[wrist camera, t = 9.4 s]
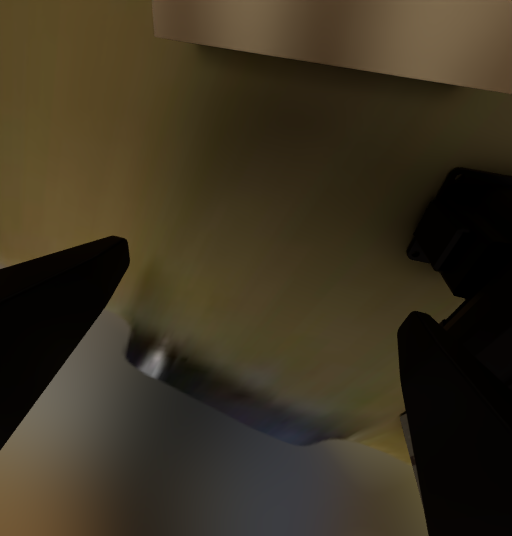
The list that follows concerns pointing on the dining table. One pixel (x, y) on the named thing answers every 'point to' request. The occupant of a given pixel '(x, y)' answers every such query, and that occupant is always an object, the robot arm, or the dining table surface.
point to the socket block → (358, 34)
